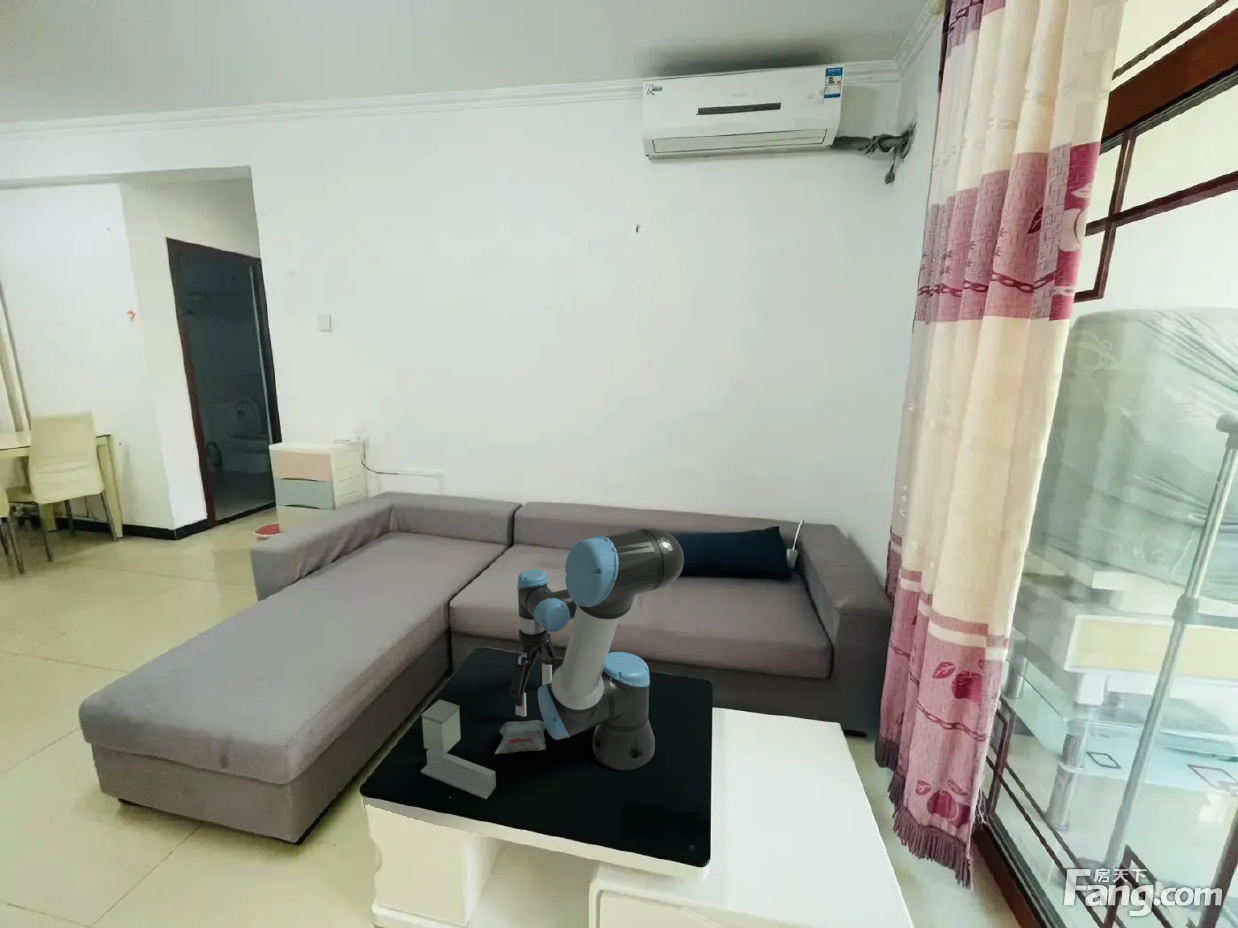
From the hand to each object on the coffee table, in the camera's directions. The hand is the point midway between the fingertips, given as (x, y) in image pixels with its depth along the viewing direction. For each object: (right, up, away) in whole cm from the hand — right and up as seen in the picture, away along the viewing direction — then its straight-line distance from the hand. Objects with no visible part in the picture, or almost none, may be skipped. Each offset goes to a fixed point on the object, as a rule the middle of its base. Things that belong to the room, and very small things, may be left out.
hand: (534, 699), depth 139 cm
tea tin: (-20, -4, -14) cm, 25 cm away
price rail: (-13, -6, -24) cm, 28 cm away
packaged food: (-4, -6, -17) cm, 18 cm away
